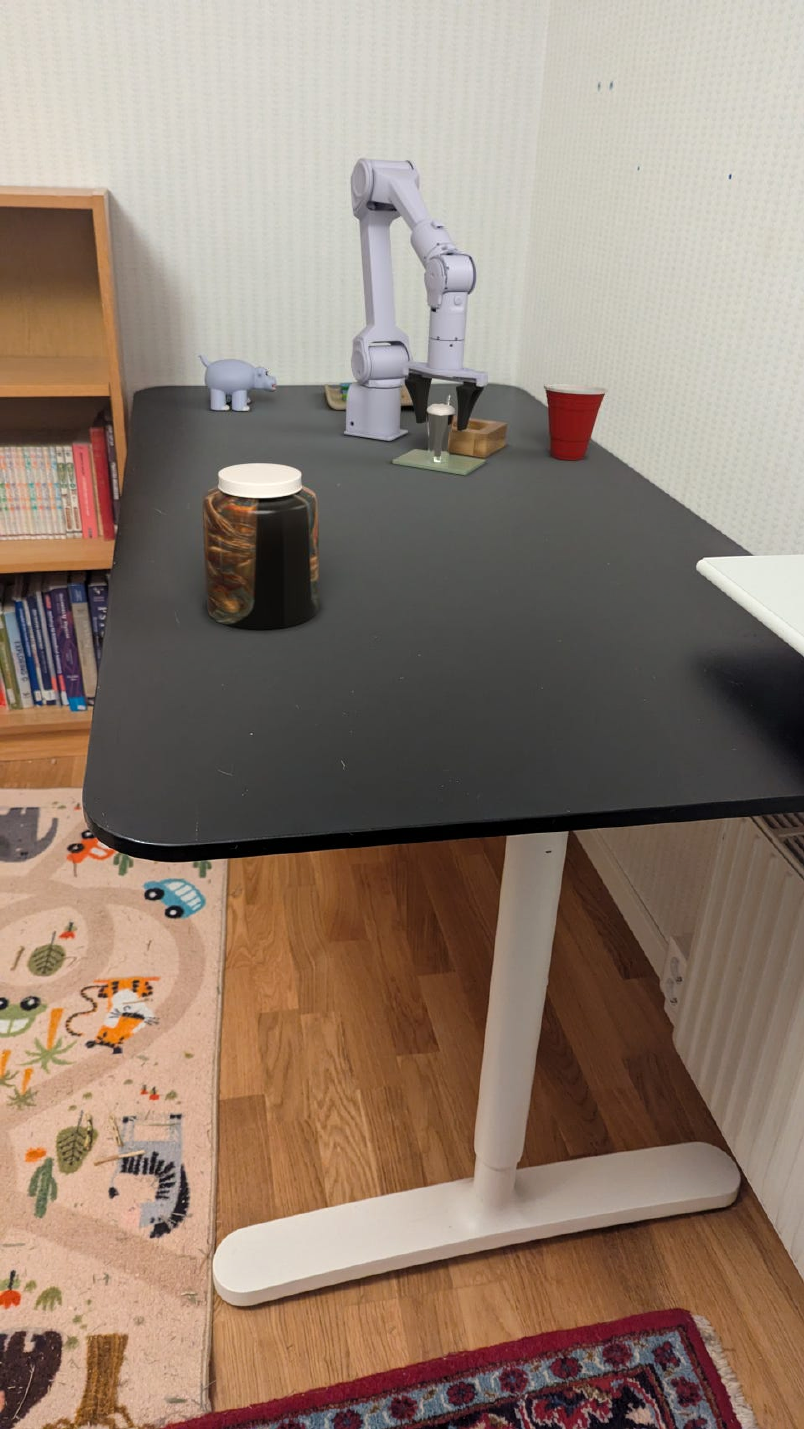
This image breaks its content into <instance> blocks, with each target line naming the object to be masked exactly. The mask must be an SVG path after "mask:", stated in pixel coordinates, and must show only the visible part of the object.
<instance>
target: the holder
mask: <svg viewBox="0 0 804 1429" xmlns="http://www.w3.org/2000/svg"><path fill="white" fill-rule="evenodd" d="M457 416H458V415H454V421H453V428H452V435H451V442H450V450H449V454H451V453H452V454H455V455H462V456H468V457H470V456H471V457H474V458H481V459H482V458H483V459H485V458H487V457H489V456H491V455H493V453H495V452H497V451H498V450H500V449H502V448H504V447H506V440H507V430H508V423H507V422H503V421H502V422H501V421H495V420H487V419H480V418H474V417H470V418H469V421H468V425H467V429H465V430H462V431H458V430H457Z"/></svg>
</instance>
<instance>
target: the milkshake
mask: <svg viewBox="0 0 804 1429" xmlns="http://www.w3.org/2000/svg"><path fill="white" fill-rule="evenodd" d="M450 400H451V395H450V394H448V395H447V397H446V402H445V404H444V403H432V404H431V405H428V406H427V418H426V422H427V451H428V459H429V461H432V462H439V463H441V462H446V461H448V457H449V454H450V452H449V450H450V442H451V435H452V428H453V421H454V416H456V415H455V414H456V408H454V407H453V406H452V405H450Z"/></svg>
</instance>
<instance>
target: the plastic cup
mask: <svg viewBox="0 0 804 1429" xmlns="http://www.w3.org/2000/svg"><path fill="white" fill-rule="evenodd" d="M543 389H544V391H545V394H546V403H547V414H548V436H549V444H550V448H549V449H550V455H551V456H552V457H553V458H555V459H559V460H565V461H580V460H583V459H585V455H586V454H587V450H588V447H589V443H590V441H591V438H592V435H593V431H594V427H595V424H596V421H597V418H598V414H599V410H600V408H601V406H602V402H603V401H604V398H605V395H606V394H607V393H608V391H609V389H608V388H605V387H600V386H594V385H585V384H574V383H573V384H572V383H571V384H570V383H549V384H544V385H543Z"/></svg>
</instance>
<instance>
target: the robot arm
mask: <svg viewBox="0 0 804 1429" xmlns="http://www.w3.org/2000/svg"><path fill="white" fill-rule="evenodd" d="M420 178H421V177H420V172H419V171H418V169H417V167H416V165H415V163H414V162H413V161H412V160H411V159H406V160H389V159H369V158H367V157H361V158H359V159H357V161H356V163H355V165H354V167H353V169H352V173H351V175H350V195H351V207H352V215H353V217H355V218H356V219H357V220H358V226H359V239H360V252H361V267H362V279H363V280H362V282H363V295H364V310H365V324H366V325H365V327H364V328H362V330H361V331H360V332H359V333H358V334H357V335H356V336H355V337H354V338H353V339H352V353H351V357H350V358H351V359H350V367H351V372H352V375H353V378H354V379H355V380H356V381H352V382H353V383H352V382H351V383H352V384H351V385H350V387H349V389H348V392H347V398H346V410H345V430H344V431H343V434H344V435H347V436H354V437H361V438H367V439H374V440H379V441H386V442H392V441H394V440H396V439H398V438H400V437H402V436H405V435H406V434H408V433H409V430H408V429H403V428H402V429H401V412H402V409H401V408H402V406H401V389H402V385H405V386H406V388H407V390H408V392H409V394H410V397H411V400H412V403H413V406H412V407H413V410H414V417H415V423H416V424H419V425H420V424H423V423H426V422H427V408H428V406H429V404H428V403H429V395H430V390H431V385H432V381H433V379H434V380H439V381H440V380H441V381H447V382H454V383H461V384H460V385H457V386H455V392H456V399H457V415H456V416H457V430H458V431H462V430H465V429H467V425H468V421H469V418H471V415H472V412H473V410H474V407H475V405H476V403H477V401H478V399H479V397H480V395H481V394H482V393H483V391H484V388H485V386H488V379H489V372H486V371H480V370H476V369H472V368H468V367H465V366H464V359H465V358H464V356H465V342H466V340H465V339H466V326H467V315H468V314H467V312H468V301H469V300H468V299H469V295H470V294H472V293H473V291H474V290H475V288H476V284H477V280H478V268H477V264H476V262H475V260H474V257H473V255H471V254H470V253H464V251H463V250H459V249H458V247H457V246H456V244H455V242H454V241H453V239H452V238H451V235H450V234H449V232H448V231H447V229H446V227H445V224H444V223H443V221H442V220H440V219H439V218H438V219H437V218H432V217H431V214H430V212H429V210H428V207H427V206H426V202H425V201H424V199H423V197H422V194H421V192H420V183H421V181H420V180H421V179H420ZM399 218H402V219H403V221H404V222H405V224H406V225H407V227H408V228H409V230H410V232H411V234H410V238H409V239H410V245H411V247H412V249H413V250H414V252H415V254H416V256H417V258H418V259H419V262H420V263H421V265H422V267H423V268H424V270H425V272H424V273H423V274H424V275H423V281H424V286H425V289H426V303H427V306H428V307H429V321H428V323H429V324H428V342H427V359H426V360H427V362H420V361H414V357H413V353H412V351H411V346H410V341H409V336H408V335H407V333H405V332H404V331H403V329H401V328H400V327H399V326H398V325H397V324H396V311H395V309H396V308H395V292H394V276H393V263H392V262H393V261H392V245H391V228H390V227H391V225H392V223H393V221H394V220H397V219H399ZM371 344H378V345H371ZM379 344H381V345H379ZM382 344H383V345H382Z"/></svg>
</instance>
